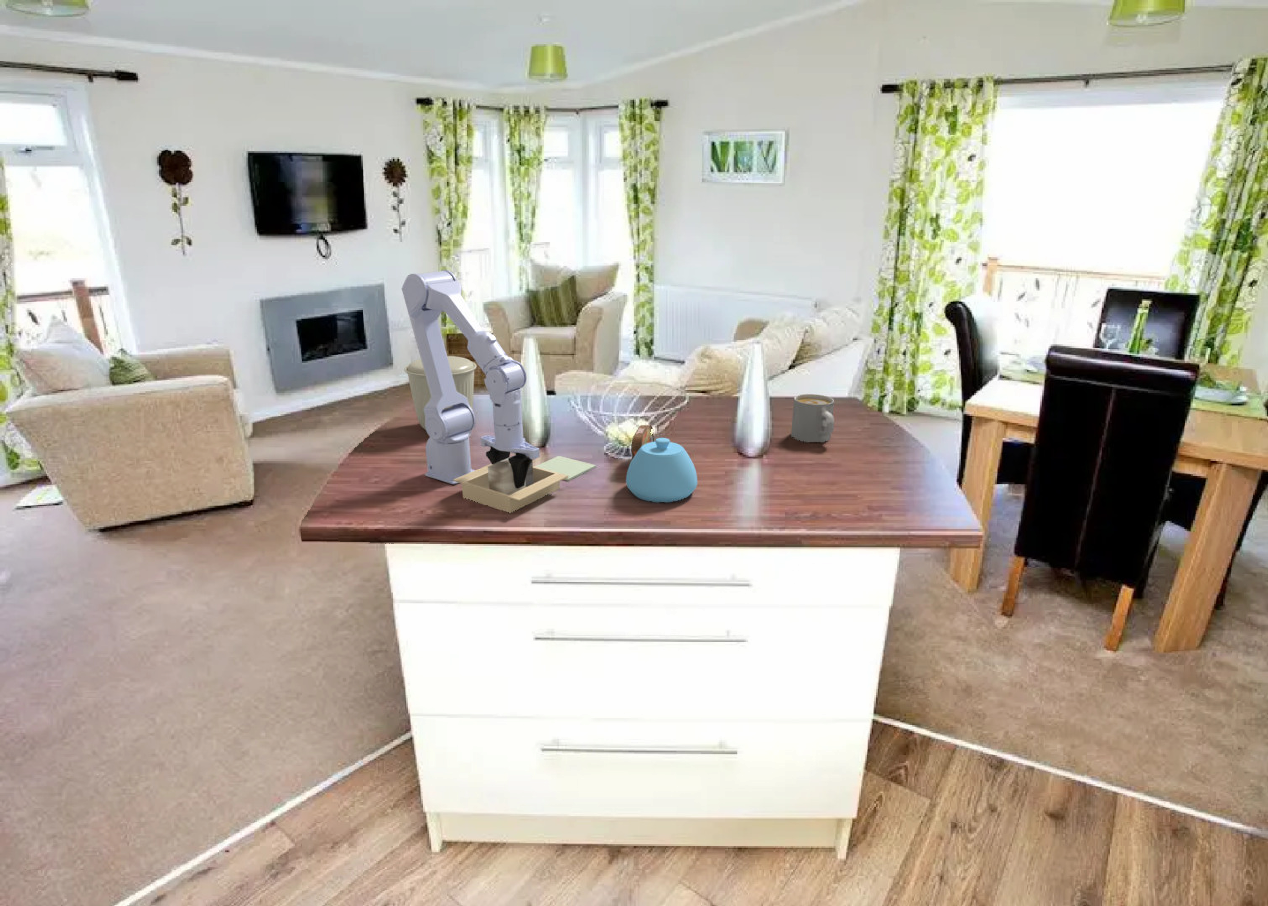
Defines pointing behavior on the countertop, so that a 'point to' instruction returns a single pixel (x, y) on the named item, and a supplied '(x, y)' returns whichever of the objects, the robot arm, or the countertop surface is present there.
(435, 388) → the robot arm
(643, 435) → the tin
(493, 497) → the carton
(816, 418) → the coffee mug
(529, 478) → the box
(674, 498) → the sugar bowl
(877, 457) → the countertop surface
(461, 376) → the canister
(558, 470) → the mat
